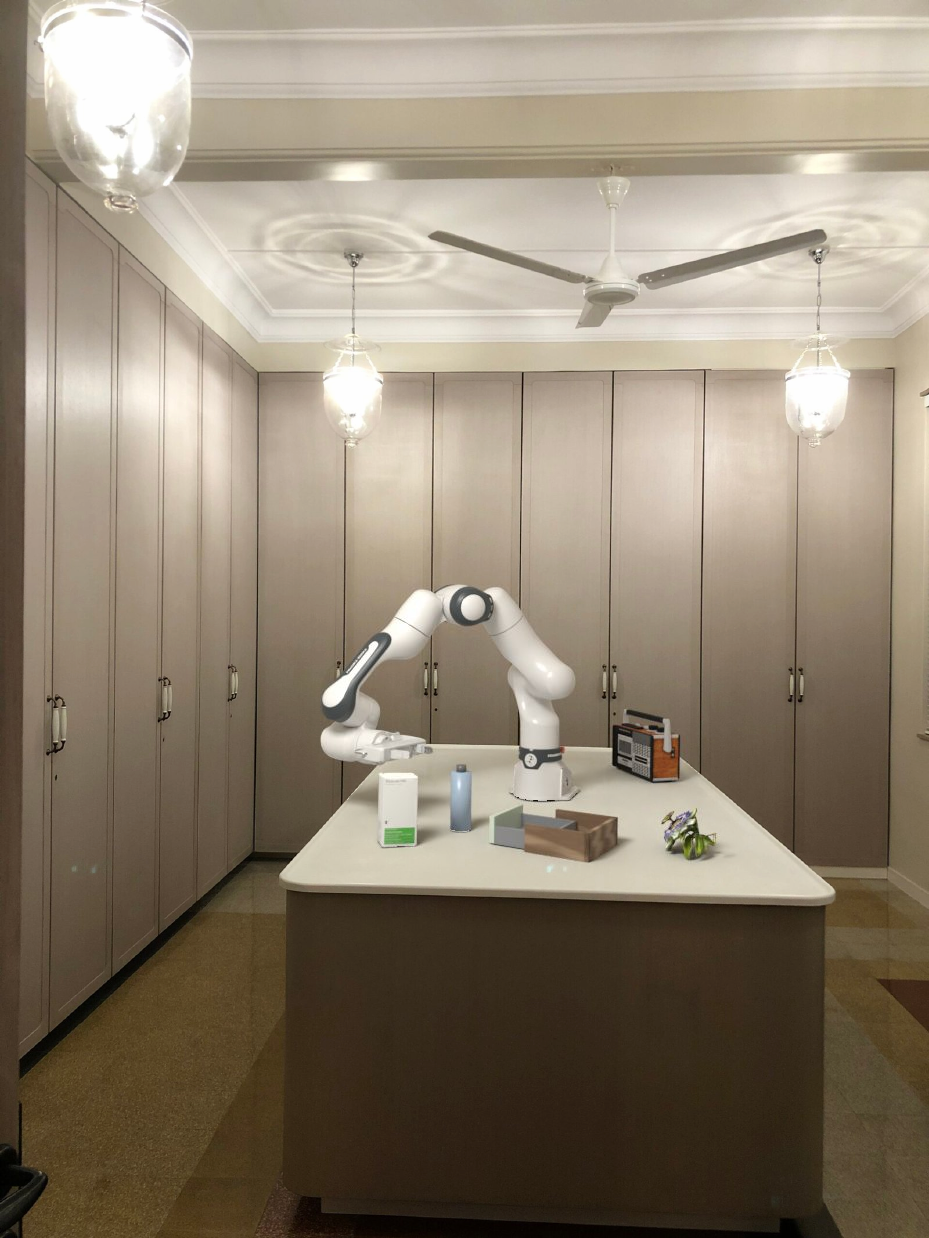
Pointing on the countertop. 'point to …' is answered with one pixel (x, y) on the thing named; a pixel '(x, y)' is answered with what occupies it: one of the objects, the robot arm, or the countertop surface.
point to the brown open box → (573, 836)
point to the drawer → (520, 825)
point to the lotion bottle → (460, 798)
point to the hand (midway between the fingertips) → (421, 752)
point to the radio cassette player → (646, 748)
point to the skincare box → (397, 809)
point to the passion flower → (681, 828)
